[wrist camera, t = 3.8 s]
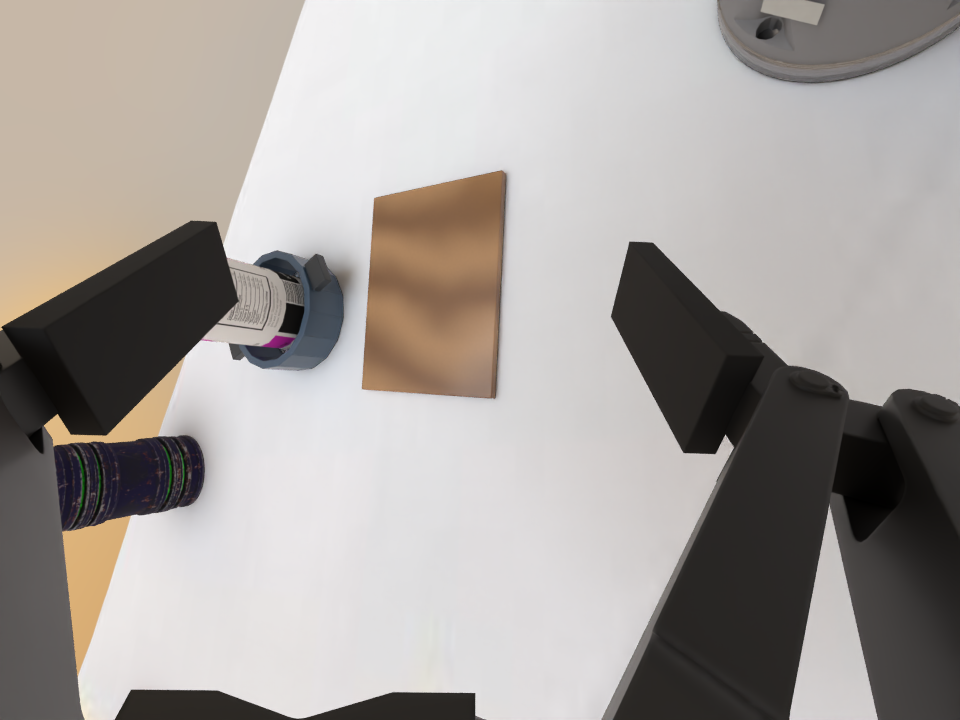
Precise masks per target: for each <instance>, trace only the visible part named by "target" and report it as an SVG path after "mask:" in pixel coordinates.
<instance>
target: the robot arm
mask: <svg viewBox="0 0 960 720" xmlns="http://www.w3.org/2000/svg"><path fill="white" fill-rule="evenodd" d="M717 6H718V20H719V26H720V29H721V32H722V35H723V37H724V39H725V41H726V43H727V45H728V46H729V48H730V49H731V51H732V52H733V53H734V54H735V55H736V56H737V57H738V58H739V59H740V60H741V61H742V62H743V63H745V64H746V65H748V66H749V67H751V68H752V69H754V70H756V71H758V72H760V73H762V74H765V75H768V76H771V77H774V78H778V79H782V80H788V81H796V82H825V81H834V80H841V79H846V78H851V77H856V76H860V75H863V74H867V73H871V72H874V71H877V70H880V69H882V68H885V67H888V66H890V65H893V64H895V63H898V62H900V61H902V60H904V59H907V58H909V57H911V56H913V55H915V54H917V53H919V52H920V51H922V50H924V49H926V48H927V47H929V46H931V45H933V44H934V43H936V42H937V41H939V40H940V39H942V38H944V37H945V36H947V35H948V34H950V33H951V32H952V31H954V30H955V29H956V28H958V27H959V26H960V0H717ZM238 302H239V300H238V296H237V293H236V289H235V286H234V282H233V279H232V275H231V272H230V268H229V265H228V261H227V258H226V254H225V251H224V247H223V244H222V240H221V237H220V233H219V230H218V226H217V223H216V222H207V221H190V222H188V223H186V224H185V225H183V226H181V227H179V228H177V229H176V230H174V231H172V232H170V233H168V234H167V235H165V236H163V237H161V238H160V239H158V240H156V241H154V242H152V243H151V244H149V245H147V246H145V247H143V248H142V249H140V250H138V251H137V252H134V253H133V254H131V255H129V256H127V257H126V258H124V259H122V260H120V261H118V262H117V263H115V264H113V265H111V266H110V267H108V268H106V269H104V270H102V271H101V272H99V273H97V274H95V275H93V276H92V277H90V278H88V279H86V280H85V281H83V282H81V283H79V284H77V285H75V286H74V287H72V288H70V289H68V290H67V291H65V292H63V293H61V294H59V295H58V296H56V297H54V298H52V299H50V300H49V301H47V302H45V303H43V304H42V305H40V306H38V307H36V308H34V309H33V310H31V311H29V312H28V313H26V314H24V315H22V316H20V317H18V318H16V319H15V320H13V321H11V322H9V323H7V324H6V325H4V326H2V329H3V330H1V331H0V720H84V717H83V714H82V710H81V705H80V698H79V688H78V678H77V670H76V660H75V650H74V640H73V631H72V621H71V611H70V602H69V592H68V583H67V573H66V564H65V554H64V545H63V535H62V525H61V516H60V506H59V497H58V487H57V478H56V468H55V458H54V449H53V439H52V437H51V436H50V434H49V433H48V432H47V430H46V429H45V427H44V425H45V424H46V423H47V422H48V421H50V419H52V418H53V417H54V416H55V415H57V414H58V415H59V417H60V418H61V420H62V421H63V423H64V425H65V426H66V428H67V429H68V431H69V432H70V434H71V435H73V434H74V435H107V434H108V433H109V432H110V431H111V430H112V429H113V428H114V427H115V426H116V425H117V424H118V423H119V422H120V421H121V420H122V419H123V418H124V417H125V416H126V415H127V414H128V413H129V412H130V411H131V410H132V409H133V408H134V407H135V406H136V405H137V404H138V403H139V402H140V401H141V400H142V399H143V398H144V397H145V396H146V395H147V394H148V393H149V392H150V391H151V390H152V389H153V388H154V387H155V386H156V385H157V384H158V383H159V382H160V381H161V380H162V379H163V378H164V377H165V376H166V374H167V373H168V372H170V371H171V370H172V369H173V368H174V367H175V366H176V364H178V362H179V361H180V360H181V359H182V358H183V357H184V356H185V355H186V354H187V353H188V352H189V351H190V350H191V349H192V348H193V347H194V346H195V345H196V344H197V343H198V342H199V341H200V340H201V339H202V338H203V337H204V336H205V335H206V334H207V333H208V332H209V331H210V330H211V329H212V328H213V327H214V326H215V325H216V324H217V323H218V322H219V321H220V320H221V319H222V318H223V317H224V316H225V315H226V314H227V313H228V312H229V311H230V310H231V309H232V308H233V307H234V306H235V305H236V304H237V303H238ZM611 318H612V319H613V321H614V323H615V325H616V327H617V329H618V331H619V333H620V335H621V336H622V338H623V340H624V342H625V344H626V346H627V348H628V350H629V351H630V353H631V355H632V357H633V359H634V361H635V363H636V365H637V366H638V368H639V370H640V372H641V374H642V376H643V378H644V380H645V382H646V383H647V385H648V387H649V389H650V391H651V393H652V395H653V397H654V398H655V400H656V402H657V404H658V406H659V408H660V410H661V412H662V413H663V415H664V417H665V419H666V421H667V423H668V425H669V427H670V429H671V430H672V432H673V434H674V436H675V438H676V440H677V442H678V444H679V445H680V447H681V449H682V451H683V453H700V454H716V452H717V450H718V448H719V446H720V444H721V442H722V440H723V438H724V436H725V434H726V436H727V437H728V439H729V440H730V442H731V443H732V445H733V446H734V449H733V451H732V453H731V454H730V456H729V458H728V460H727V462H726V464H725V466H724V468H723V470H722V471H721V473H720V475H719V477H718V479H717V483H716V485H715V487H714V489H713V491H712V493H711V495H710V497H709V499H708V501H707V503H706V506H705V508H704V510H703V512H702V514H701V516H700V518H699V520H698V522H697V524H696V526H695V528H694V530H693V532H692V534H691V536H690V538H689V541H688V543H687V545H686V547H685V549H684V551H683V553H682V555H681V557H680V559H679V561H678V563H677V565H676V567H675V569H674V571H673V573H672V576H671V578H670V580H669V582H668V584H667V586H666V588H665V590H664V592H663V594H662V596H661V598H660V600H659V602H658V604H657V606H656V609H655V611H654V613H653V615H652V617H651V619H650V621H649V623H648V625H647V627H646V629H645V631H644V633H643V635H642V637H641V639H640V641H639V644H638V646H637V648H636V650H635V652H634V654H633V656H632V658H631V660H630V662H629V664H628V666H627V668H626V670H625V672H624V674H623V676H622V679H621V681H620V683H619V685H618V687H617V689H616V691H615V693H614V695H613V697H612V699H611V701H610V703H609V705H608V707H607V709H606V711H605V713H604V716H603V718H602V720H789V717H790V709H791V704H792V698H793V693H794V688H795V683H796V677H797V672H798V667H799V661H800V656H801V651H802V646H803V640H804V635H805V630H806V624H807V619H808V614H809V609H810V603H811V598H812V593H813V587H814V582H815V577H816V572H817V566H818V561H819V556H820V550H821V545H822V540H823V535H824V529H825V524H826V519H827V514H828V508H829V503H830V508H831V512H832V517H833V521H834V525H835V530H836V534H837V539H838V543H839V548H840V552H841V557H842V561H843V566H844V570H845V574H846V579H847V583H848V588H849V592H850V597H851V601H852V606H853V610H854V615H855V619H856V623H857V628H858V632H859V637H860V641H861V646H862V650H863V655H864V659H865V664H866V668H867V672H868V677H869V681H870V686H871V690H872V695H873V699H874V704H875V708H876V713H877V717H878V720H960V406H958V404H957V403H956V402H954V401H952V400H950V399H947V400H946V398H945V397H942V396H940V395H937V394H930V393H927V392H924V391H918V390H912V389H898V390H896V391H895V392H893V393H892V394H891V396H890V397H889V398H888V400H887V401H886V402H885V404H884V405H883V406H877V405H873V404H868V403H864V402H859V401H854V400H850V399H849V396H848V392H847V391H846V390H845V389H844V388H843V386H842V385H841V384H839V383H838V382H836V381H835V380H833V379H832V378H830V377H828V376H826V375H824V374H822V373H819V372H817V371H814V370H811V369H807V368H803V367H797V366H788V365H787V364H786V363H785V362H784V361H783V360H782V359H780V358H779V357H778V356H777V355H776V354H775V353H774V352H773V351H772V350H771V349H770V348H769V347H768V346H767V345H766V344H765V343H762V340H761V339H760V338H759V337H758V336H757V335H756V334H753V331H752V330H751V329H750V328H749V327H748V326H747V325H746V324H744V323H743V322H742V321H741V320H739V319H737V318H736V317H734V316H732V315H730V314H728V313H727V312H723V311H719V310H718V309H717V308H716V307H715V306H714V305H713V303H712V302H711V301H710V300H709V299H708V298H707V297H706V296H705V295H704V294H703V293H702V292H701V291H700V290H699V289H698V288H697V287H696V286H695V285H694V284H693V283H692V282H691V281H690V280H689V279H688V278H687V277H686V276H685V275H684V274H683V273H682V272H681V271H680V270H679V269H678V268H677V267H676V266H675V265H674V264H673V263H672V262H671V261H670V260H669V259H668V258H667V257H666V256H665V255H664V254H663V253H662V252H661V250H660V249H659V248H658V247H657V246H656V245H655V244H654V243H648V242H629V246H628V250H627V254H626V258H625V262H624V266H623V270H622V274H621V278H620V282H619V286H618V290H617V294H616V298H615V302H614V306H613V310H612V314H611ZM115 720H485V719H482V718H480V717H477V716H475V693H407V692H392V693H389V694H385V695H382V696H379V697H375V698H372V699H369V700H365V701H362V702H358V703H355V704H352V705H348V706H345V707H341V708H338V709H335V710H331V711H328V712H324V713H321V714H318V715H314V716H311V717H307V718H302V719H296V718H291V717H287V716H285V715H282V714H279V713H277V712H274V711H271V710H268V709H266V708H263V707H260V706H258V705H255V704H252V703H249V702H247V701H244V700H241V699H239V698H236V697H233V696H230V695H228V694H225V693H222V692H220V691H208V690H131V691H130V693H129V695H128V696H127V698H126V700H125V702H124V704H123V706H122V707H121V709H120V711H119V713H118V715H117V717H116V718H115Z"/></svg>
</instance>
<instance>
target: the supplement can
mask: <svg viewBox="0 0 960 720" xmlns="http://www.w3.org/2000/svg"><path fill="white" fill-rule="evenodd" d="M227 261H228V265H229V268H230V272H231V275H232V279H233V282H234V286H235V289H236V293H237V296H238V300H239V302H238V303H237V304H236V305H235V306H234V307H233V308H232V309H231V310H230V311H229V312H228V313H227V314H226V315H225V316H224V317H223V318H222V319H221V320H220V321H219V322H218V323H217V324H216V325H215V326H214V327H213V328H212V329H211V330H210V331H209V332H208V333H207V334H206V335H205V336H204V337H203V338H202V339H201V340H205V341H214V342H224V343H233V344H243V345H252V346H262V347H271V348H281V349H289V348H290V347H291V345H292V343H293V342H294V340H295V338H296V336H297V335H298V333H299V331H300V327H301V323H302V319H303V315H304V288H303V285H302V282H301V279H300V278H299V277H295V276H291V275H288V274H284V273H281V272H277V271H273V270H270V269H266V268H262V267H259V266H255V265H252V264H248V263H244V262H241V261H237V260H233V259H230V258H227Z"/></svg>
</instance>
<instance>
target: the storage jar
mask: <svg viewBox="0 0 960 720" xmlns="http://www.w3.org/2000/svg"><path fill="white" fill-rule="evenodd" d="M53 449H54V458H55V468H56V478H57V487H58V497H59V506H60V516H61V525H62V531H71V530H76V529H81V528H84V527H87V526H96V525H98V524H101V523H104V522H105V521H106V520H111V519H116V518H121V517H125V516H131V515H136V514H137V515H146V514H151V513H159V512H164V511H168V510H170V509H174V508H177V507H178V506H179V507H184V506H188V505H191V504H192V503H193V502H194V501H195V500H196V499H197V497H198V496H199V494H200V491H201V489H202V485H203V480H204V461H203V456H202V452H201V449H200V447H199V445H198V444H197V442H196V441H195V440H194V439H193V438H192V437H190V436H178V437H166V436H161V437H153V438H145V439H138V440H136V441H132V442H118V443H104V442H91V443H70V444H67V445H57V446H54V447H53Z"/></svg>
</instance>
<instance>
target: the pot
mask: <svg viewBox="0 0 960 720" xmlns="http://www.w3.org/2000/svg"><path fill="white" fill-rule="evenodd" d="M253 265H255V266H259V267H262V268H266V269H270V270H273V271H277V272H281V273H284V274H288V275H291V276H293V275H294V274H296V273H297V272H298V273H299V276H300V279H301V282H302V285H303V288H304V315H303V319H302V323H301V327H300V331H299V333H298V335H297V336H296V338H295V340H294V342H293V343H292V345H291V347H290V348H289V350H287V351H286V352H285V353H284V354H283V353H282V352H281V350H280V349H279V348H271V347H262V346H252V345H243V344H233V343H229V346H230V350H231V354H232V358H233V360H241V359H242V358H243V357H244V356H245V357H246V358H247V359H248V361H249V362H250V363H252V364H254V365H256V366H258V367H260V368H262V369H277V370H295V371H299V370H306V369H312V368H314V367H315V366H316V365H318V364H319V363H320V362H322V361H323V360H324V359H326V358H327V356H328V355H329V353H330V352H331V350H332V348H333V347H334V345H335V343H336V342H337V340H338V337H339V333H340V329H341V325H342V321H343V296H342V292H341V290H340V287H339V284H338V281H337V278H336V276H335V275H334V274H333V273H332V272H331V271H330V270H329V269H328V268H327V266H326V263H325V261H324V258H323V256H321V255H318V254H315V255H314V256H313V257H312V258H311V259H310V260H308V259H305V258H302V257H298V256H295V255H292V254H289V253H285V252H281V251H273V252H271V253H268V254H265V255H262V256H261V257H260V258H259V259H258V260H257V261H256V262H255V263H254V264H253Z"/></svg>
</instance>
